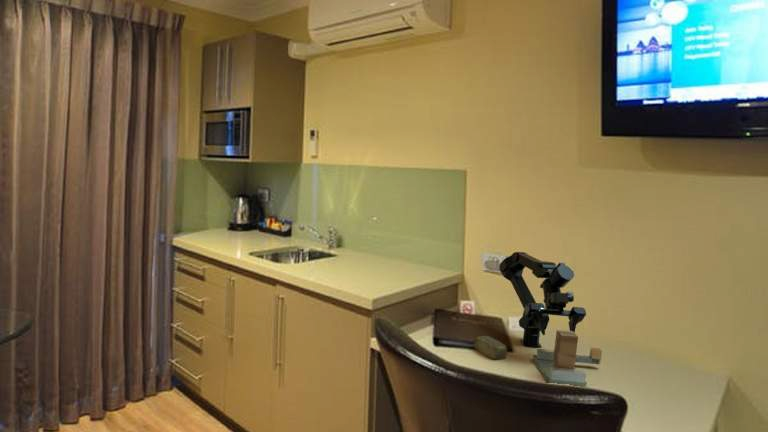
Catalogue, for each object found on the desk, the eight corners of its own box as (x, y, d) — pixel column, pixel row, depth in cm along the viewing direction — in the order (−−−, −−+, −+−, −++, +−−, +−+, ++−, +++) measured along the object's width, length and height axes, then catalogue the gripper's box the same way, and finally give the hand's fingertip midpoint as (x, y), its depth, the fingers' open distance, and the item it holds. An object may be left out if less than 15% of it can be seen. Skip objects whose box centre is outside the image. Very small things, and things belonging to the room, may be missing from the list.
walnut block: (552, 369, 156) (556, 329, 155) (567, 370, 156) (572, 331, 155) (556, 376, 151) (561, 335, 150) (573, 377, 151) (578, 336, 150)
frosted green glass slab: (532, 359, 168) (534, 346, 168) (565, 362, 168) (566, 349, 167) (549, 384, 149) (550, 369, 148) (586, 387, 148) (587, 373, 148)
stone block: (494, 361, 164) (496, 347, 163) (472, 349, 174) (473, 335, 173) (507, 359, 166) (509, 345, 166) (485, 347, 176) (486, 334, 176)
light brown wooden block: (536, 356, 166) (537, 342, 165) (597, 361, 165) (599, 348, 165) (537, 358, 164) (539, 345, 163) (600, 364, 163) (601, 350, 163)
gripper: (531, 279, 164) (536, 322, 154) (587, 284, 163) (596, 327, 154) (523, 296, 173) (527, 337, 163) (576, 301, 172) (584, 342, 162)
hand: (558, 336), depth 160 cm, fingers open, 9 cm apart
